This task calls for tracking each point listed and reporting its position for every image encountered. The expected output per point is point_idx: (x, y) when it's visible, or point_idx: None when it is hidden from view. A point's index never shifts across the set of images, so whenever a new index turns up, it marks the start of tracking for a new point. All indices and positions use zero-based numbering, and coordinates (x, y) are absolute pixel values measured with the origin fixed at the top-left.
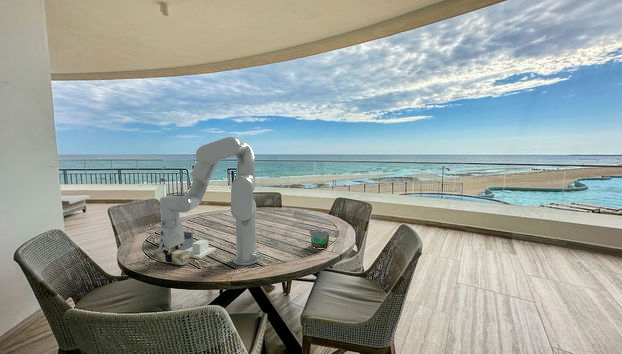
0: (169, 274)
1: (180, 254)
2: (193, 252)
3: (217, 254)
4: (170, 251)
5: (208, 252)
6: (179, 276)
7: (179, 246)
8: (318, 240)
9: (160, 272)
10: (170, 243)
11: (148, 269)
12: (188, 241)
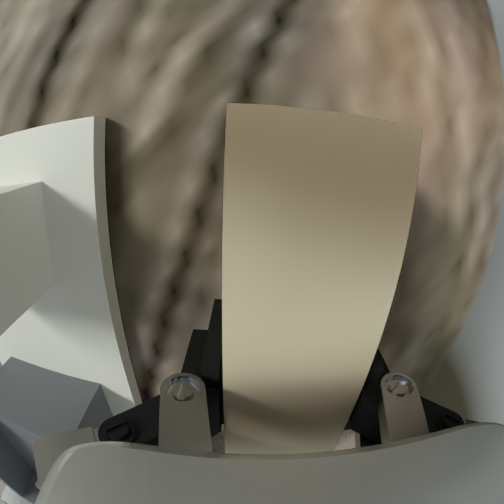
0: (471, 163)
1: (415, 181)
2: (51, 274)
3: (8, 58)
4: (308, 422)
5: (2, 136)
6: (472, 60)
7: (188, 418)
8: None
9: (450, 266)
10: (498, 495)
11: None
12: (10, 405)
